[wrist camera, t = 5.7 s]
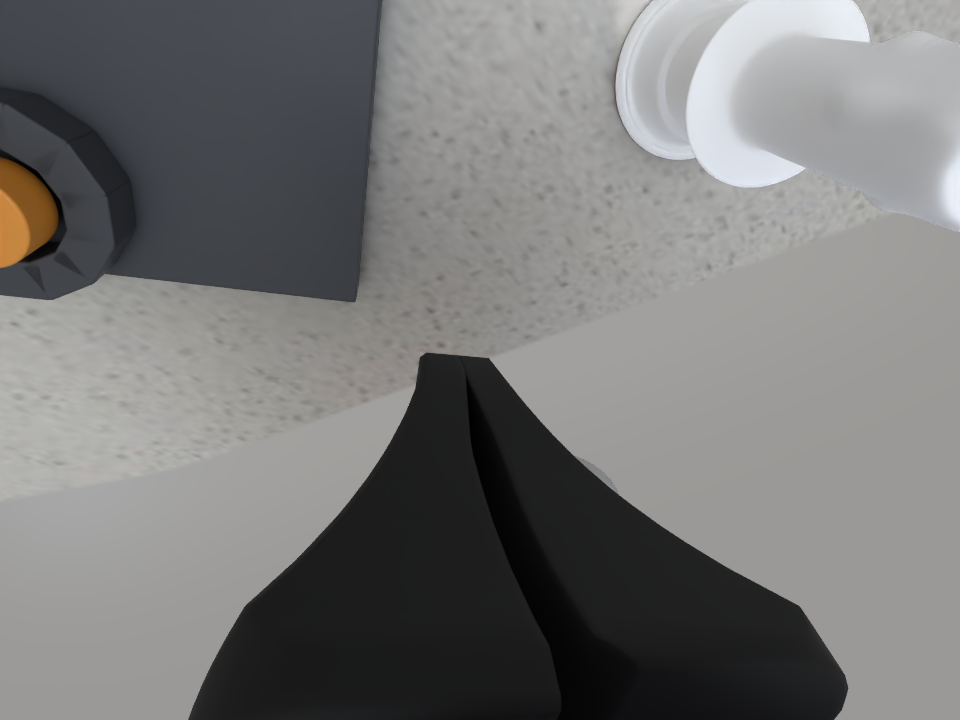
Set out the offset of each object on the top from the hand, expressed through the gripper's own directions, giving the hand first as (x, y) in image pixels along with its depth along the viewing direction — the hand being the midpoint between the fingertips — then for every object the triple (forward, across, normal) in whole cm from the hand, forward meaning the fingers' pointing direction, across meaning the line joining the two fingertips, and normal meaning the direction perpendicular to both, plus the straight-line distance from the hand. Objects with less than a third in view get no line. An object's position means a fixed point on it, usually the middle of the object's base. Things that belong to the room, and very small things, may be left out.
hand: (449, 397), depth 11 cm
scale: (+10, +8, -3) cm, 14 cm away
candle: (+10, -8, -6) cm, 14 cm away
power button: (+8, +12, 0) cm, 14 cm away
